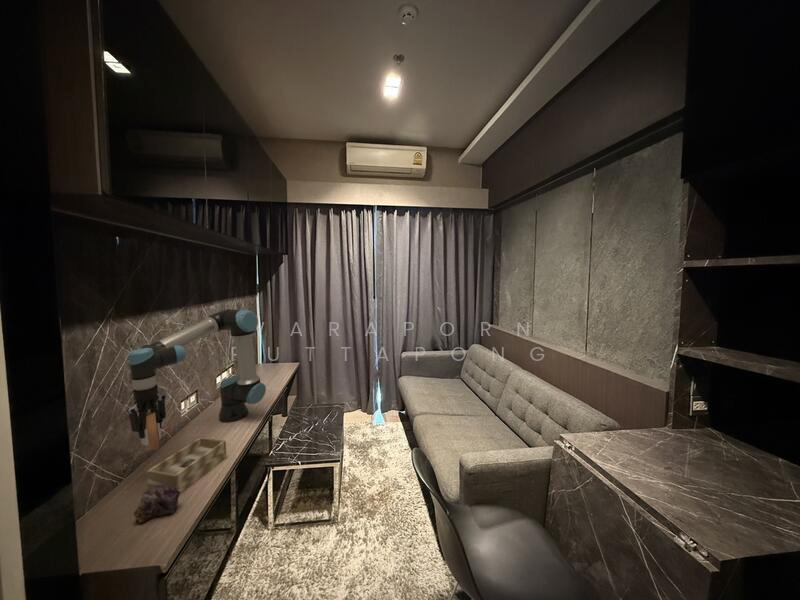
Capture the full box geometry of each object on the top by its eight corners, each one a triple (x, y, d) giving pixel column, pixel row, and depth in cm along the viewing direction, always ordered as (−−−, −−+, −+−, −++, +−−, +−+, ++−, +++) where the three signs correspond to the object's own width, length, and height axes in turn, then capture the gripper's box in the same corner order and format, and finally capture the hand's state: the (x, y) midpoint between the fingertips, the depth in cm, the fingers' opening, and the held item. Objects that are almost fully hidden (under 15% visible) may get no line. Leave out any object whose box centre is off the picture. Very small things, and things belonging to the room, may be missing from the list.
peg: (153, 444, 125) (149, 410, 123) (161, 445, 124) (157, 411, 122) (143, 450, 121) (138, 415, 119) (151, 451, 120) (147, 417, 118)
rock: (170, 522, 103) (182, 500, 112) (173, 499, 102) (184, 479, 112) (129, 525, 99) (145, 502, 109) (131, 502, 98) (147, 481, 108)
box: (201, 453, 139) (200, 437, 139) (226, 457, 136) (225, 440, 136) (148, 490, 116) (146, 471, 115) (177, 495, 113) (175, 476, 112)
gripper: (159, 378, 128) (165, 428, 131) (113, 395, 112) (121, 452, 114) (173, 379, 127) (178, 430, 129) (128, 397, 110) (136, 455, 113)
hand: (151, 440), depth 122 cm, fingers closed on peg, 4 cm apart
